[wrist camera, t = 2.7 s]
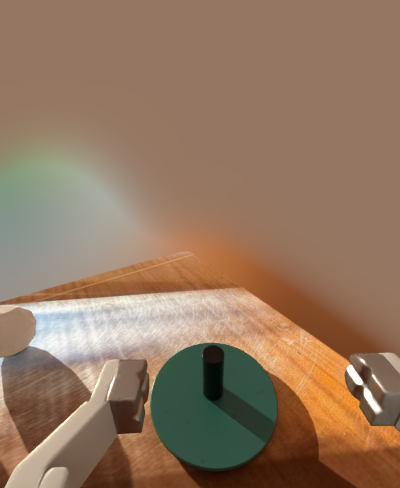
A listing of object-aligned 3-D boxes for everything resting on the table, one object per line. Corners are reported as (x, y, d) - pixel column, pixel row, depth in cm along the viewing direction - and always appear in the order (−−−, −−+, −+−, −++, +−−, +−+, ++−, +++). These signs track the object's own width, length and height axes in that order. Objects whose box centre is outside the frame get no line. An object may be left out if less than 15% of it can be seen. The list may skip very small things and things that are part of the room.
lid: (304, 451, 24) (317, 404, 21) (154, 497, 21) (145, 450, 18) (246, 340, 37) (249, 302, 34) (149, 359, 34) (143, 319, 31)
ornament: (-10, 380, 31) (-62, 338, 29) (15, 354, 38) (-26, 319, 36) (38, 340, 33) (-9, 298, 31) (53, 322, 40) (16, 287, 38)
